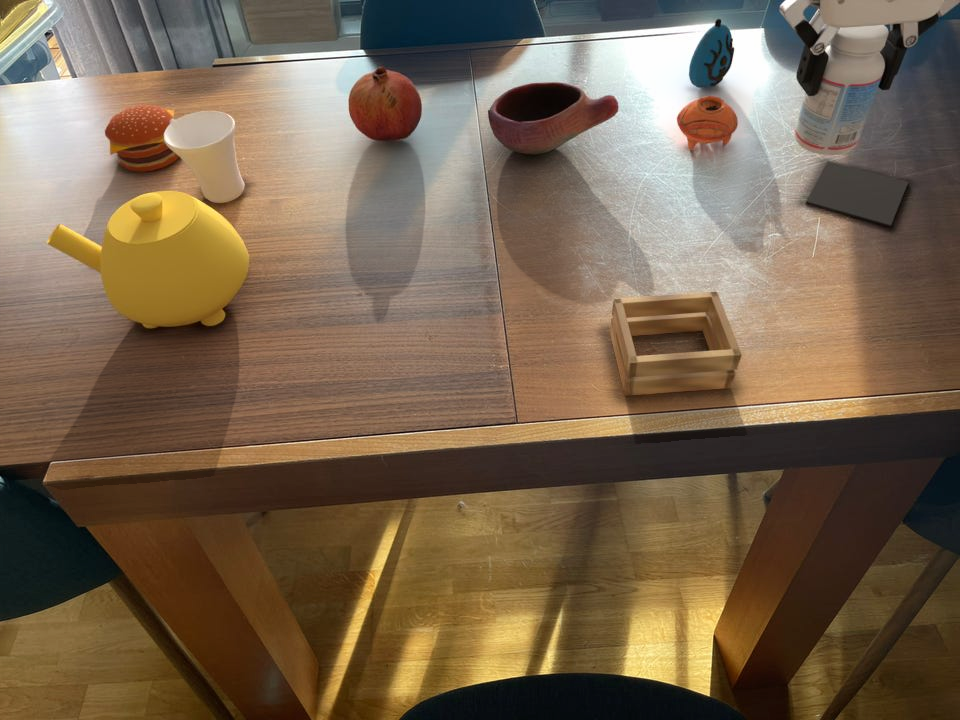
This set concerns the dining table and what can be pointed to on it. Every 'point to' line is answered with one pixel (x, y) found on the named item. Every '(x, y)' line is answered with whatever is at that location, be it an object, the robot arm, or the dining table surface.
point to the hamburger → (141, 138)
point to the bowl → (546, 116)
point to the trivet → (858, 193)
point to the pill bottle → (843, 92)
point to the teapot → (164, 260)
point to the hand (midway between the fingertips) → (842, 84)
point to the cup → (208, 152)
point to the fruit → (385, 105)
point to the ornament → (712, 57)
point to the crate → (678, 367)
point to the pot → (707, 121)
